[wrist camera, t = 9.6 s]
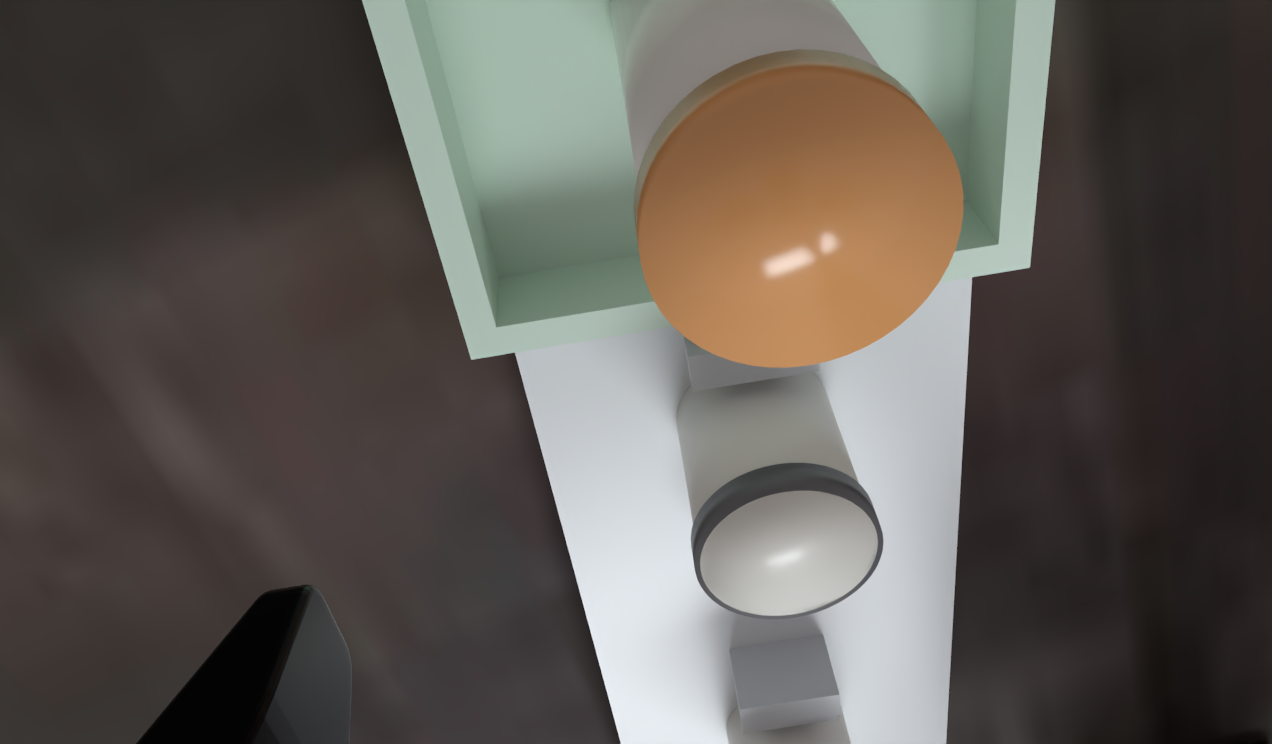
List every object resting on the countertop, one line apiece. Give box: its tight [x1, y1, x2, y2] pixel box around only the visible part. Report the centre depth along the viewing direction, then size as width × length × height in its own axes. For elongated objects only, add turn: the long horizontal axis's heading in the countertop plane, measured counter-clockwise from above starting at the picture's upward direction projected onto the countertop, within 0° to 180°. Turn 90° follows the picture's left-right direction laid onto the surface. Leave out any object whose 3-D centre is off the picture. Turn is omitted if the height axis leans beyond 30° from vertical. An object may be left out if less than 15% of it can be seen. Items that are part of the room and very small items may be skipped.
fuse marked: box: [610, 0, 964, 368], centre depth 14 cm, size 3×3×8 cm
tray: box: [362, 0, 1055, 360], centre depth 17 cm, size 10×10×2 cm
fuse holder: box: [515, 277, 972, 744], centre depth 24 cm, size 9×17×5 cm, turn 8°
